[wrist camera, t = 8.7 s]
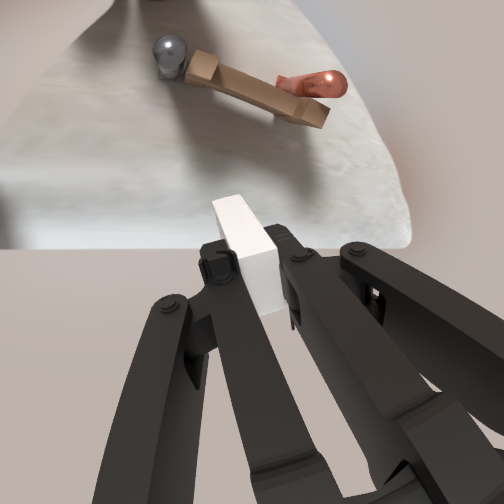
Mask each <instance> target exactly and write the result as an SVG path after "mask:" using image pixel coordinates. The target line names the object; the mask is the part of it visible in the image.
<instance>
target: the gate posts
mask: <svg viewBox="0 0 504 504" xmlns="http://www.w3.org/2000/svg"><path fill="white" fill-rule="evenodd" d="M186 50H187V46H186V43H185V41H184V40H183V39H182V38H181V37H179V36H177V35H166V36H163V37H162V38H160V39H159V40H158V41H157V42H156V43H155V45H154V48H153V54H154V57H155V59H156V61H157V63H158V66H159V68H160V73H159V77H158V79H164V80H170V81H176V82H181V81H182V78H183V74H184V70H185V67H186V63H187V60H185V57H186ZM275 87H277V88H279V89H281V90H283V91H285V92H287V93H289V94H291V95H293V96H295V97H297V98H340V97H342V96H343V95H344V94H345V93H346V91H347V88H348V83H347V80H346V78H345V76H344V75H343V74H342V73H341V72H339V71H336V70H331V71H324V72H318V73H312V74H307V75H302V76H296V77H291V78H286V77H283V76H280V75H278V78H277V81H276V85H275Z"/></svg>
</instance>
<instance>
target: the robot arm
mask: <svg viewBox="0 0 504 504" xmlns="http://www.w3.org/2000/svg"><path fill="white" fill-rule="evenodd" d="M212 204H213V208H214V212H215V216H216V220H217V224H218V228H219V233H220V237H221V240H218V241H214V242H211V243H207V244H203V246H202V247H201V249H200V255H201V259H200V260H199V264H198V265H199V267H200V271H201V274H202V277H203V281H204V284H205V286H204V288H203V289H202V290H201V292H199V293H198V294H197V295H195V296H193V297H191V298H190V299H187V298H186V297H185V296H183V295H180V294H172V295H168V296H165V297H163V298H161V299H159V300H158V301H157V302H156V303H154V305H153V307H152V308H151V311H150V314H149V316H148V319H147V321H146V324H145V327H144V329H143V332H142V335H141V338H140V340H139V343H138V346H137V349H136V352H135V354H134V358H133V360H132V363H131V367H130V369H129V372H128V375H127V378H126V381H125V384H124V387H123V390H122V393H121V397H120V400H119V403H118V406H117V410H116V413H115V416H114V419H113V423H112V426H111V430H110V433H109V437H108V440H107V444H106V448H105V452H104V455H103V459H102V463H101V467H100V471H99V475H98V479H97V483H96V487H95V492H94V496H93V501H92V504H193V499H194V487H195V477H196V466H197V455H198V447H199V436H200V427H201V419H202V410H203V401H204V393H205V385H206V376H207V368H208V359H209V354H208V352H210V351H211V350H213V349H215V348H217V347H218V348H219V353H220V357H221V362H222V365H223V370H224V374H225V378H226V382H227V386H228V390H229V394H230V398H231V402H232V406H233V410H234V413H235V417H236V421H237V425H238V428H239V432H240V436H241V439H242V443H243V447H244V450H245V454H246V457H247V461H248V464H249V468H250V479H251V484H252V487H253V491H254V495H255V498H256V501H257V504H504V450H501V449H497V448H494V447H493V446H492V445H491V443H490V442H489V440H488V439H487V438H486V436H485V435H484V433H483V432H482V431H481V429H480V428H479V427H478V425H477V424H476V423H475V422H474V420H473V419H472V417H471V416H470V415H469V413H470V414H471V415H472V416H474V417H475V418H476V419H477V420H479V421H480V422H482V423H483V424H484V425H485V426H487V427H488V428H490V429H491V430H493V431H495V432H497V433H499V434H501V435H503V436H504V320H502V319H501V318H499V317H498V316H496V315H494V314H493V313H491V312H490V311H488V310H486V309H485V308H483V307H481V306H480V305H478V304H476V303H475V302H473V301H471V300H469V299H468V298H466V297H465V296H463V295H461V294H460V293H458V292H456V291H454V290H453V289H451V288H449V287H447V286H446V285H444V284H442V283H440V282H439V281H437V280H435V279H433V278H432V277H430V276H428V275H426V274H424V273H422V272H421V271H419V270H417V269H415V268H414V267H411V266H410V265H408V264H406V263H404V262H402V261H400V260H399V259H397V258H395V257H393V256H391V255H389V254H387V253H385V252H383V251H382V250H380V249H378V248H376V247H374V246H372V245H370V244H367V243H364V242H351V243H348V244H345V245H344V246H342V247H341V249H340V256H332V257H321V256H320V255H319V254H318V253H317V252H316V251H315V250H314V249H311V248H304V247H303V246H302V245H301V244H300V243H299V241H298V240H297V239H296V238H295V237H294V236H293V234H292V233H290V231H289V230H288V229H287V228H286V227H285V226H282V225H280V224H275V225H271V226H267V227H262V226H261V224H260V223H259V221H258V220H257V218H256V217H255V216H254V214H253V213H252V211H251V210H250V209H249V207H248V206H247V204H246V203H245V202H244V200H243V199H242V197H241V196H240V194H237V195H233V196H229V197H225V198H222V199H218V200H214V201H212ZM373 288H374V289H376V290H377V291H379V296H376V295H375V294H373ZM285 300H286V301H287V303H288V305H289V312H290V319H291V327H292V330H294V329H295V327H294V325H295V326H296V328H297V330H298V331H299V333H300V335H301V337H302V339H303V341H304V342H305V345H306V346H307V348H308V350H309V352H310V354H311V355H312V357H313V359H314V361H315V363H316V365H317V367H318V369H319V371H320V373H321V374H322V376H323V378H324V380H325V382H326V384H327V386H328V387H329V389H330V391H331V393H332V395H333V397H334V399H335V401H336V403H337V404H338V406H339V408H340V410H341V412H342V414H343V416H344V418H345V419H346V421H347V423H348V425H349V427H350V429H351V430H352V432H353V434H354V436H355V438H356V440H357V442H358V444H359V445H360V447H361V450H362V451H363V453H364V455H365V457H366V459H367V462H368V466H369V473H370V476H371V479H372V481H373V483H374V485H375V487H376V489H377V491H374V492H370V493H366V494H361V495H357V496H351V497H346V498H343V496H342V494H341V492H340V490H339V488H338V485H337V483H336V481H335V479H334V477H333V475H332V472H331V470H330V468H329V467H328V464H327V462H326V460H325V459H324V457H323V456H322V454H321V453H319V452H318V451H317V449H316V447H315V445H314V443H313V441H312V439H311V437H310V434H309V432H308V430H307V427H306V425H305V423H304V421H303V418H302V416H301V414H300V412H299V409H298V407H297V405H296V403H295V400H294V398H293V395H292V393H291V391H290V389H289V386H288V384H287V382H286V379H285V377H284V375H283V372H282V370H281V368H280V365H279V363H278V361H277V358H276V356H275V353H274V351H273V349H272V346H271V345H270V342H269V339H268V337H267V335H266V332H265V330H264V328H263V325H262V323H261V320H260V318H259V316H263V315H266V314H269V313H272V312H276V311H279V310H282V309H286V304H285ZM419 373H420V374H421V375H422V376H424V377H425V378H426V379H427V380H429V381H430V382H431V383H432V384H434V385H435V386H436V387H438V388H439V389H440V390H441V391H442V392H435V391H433V390H432V389H431V388H430V387H429V385H428V384H427V383H426V382H425V380H424V379H423V378H422V376H421V375H420V374H419ZM468 412H469V413H468Z"/></svg>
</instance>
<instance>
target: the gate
mask: <svg viewBox="0 0 504 504" xmlns="http://www.w3.org/2000/svg"><path fill="white" fill-rule="evenodd" d="M219 61H220V57H217V56H215V55H212V54H209V53H206V52H204V51H201V50H198V49H196V52H195V54H194V56H193V58H192V60H191V62H190V64H189V66H188V69H187V71H186V75H185V80H184V82H186V83H189V84H192V85H195V86H197V87H200V88H202V87H203V86H206V87H209V88H211V89H214V90H217V91H219V92H222V93H225V94H227V95H230V96H232V97H235V98H237V99H240V100H242V101H245V102H247V103H250V104H252V105H254V106H257V107H259V108H262V109H264V110H266V111H268V112H271V113H273V115H274V116H276V117H278V118H281V119H283V120H285V121H287V122H289V123H295V124H300V125H305V126H310V127H315V128H320V129H322V127H323V125H324V123H325V120H326V118H327V116H328V114H329V111H330V108H328V107H327V106H325V105H323V104H321V103H319V102H317V101H316V100H314V99H312V98H297V97H295V96H293V95H291V94H289V93H287V92H285V91H283V90H281V89H279V88H277V87H274V86H272V85H270V84H268V83H266V82H263V81H261V80H259V79H257V78H254V77H252V76H250V75H247V74H245V73H242V72H240V71H237V70H235V69H232V68H230V67H227V66H225V65H222V64H219Z"/></svg>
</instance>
